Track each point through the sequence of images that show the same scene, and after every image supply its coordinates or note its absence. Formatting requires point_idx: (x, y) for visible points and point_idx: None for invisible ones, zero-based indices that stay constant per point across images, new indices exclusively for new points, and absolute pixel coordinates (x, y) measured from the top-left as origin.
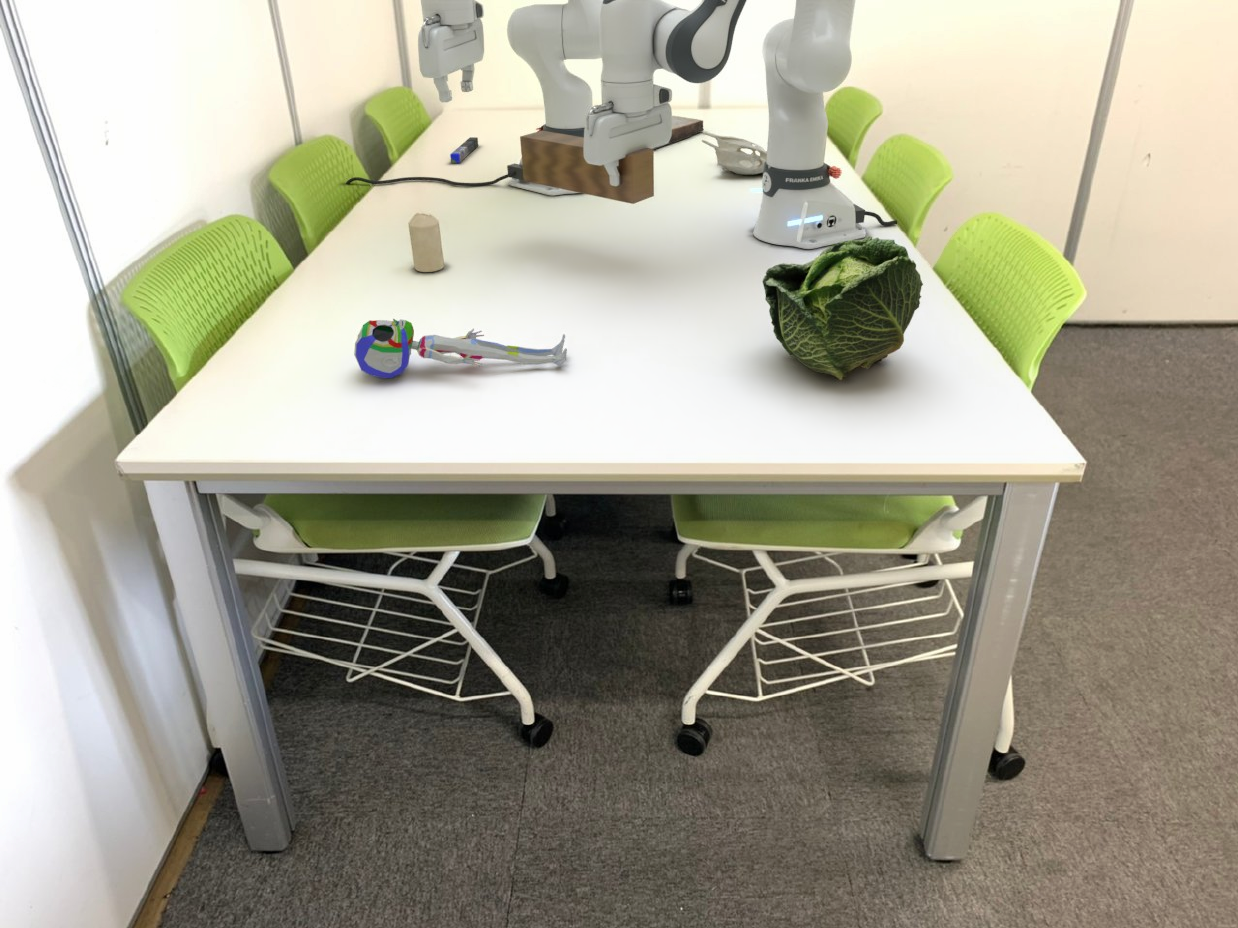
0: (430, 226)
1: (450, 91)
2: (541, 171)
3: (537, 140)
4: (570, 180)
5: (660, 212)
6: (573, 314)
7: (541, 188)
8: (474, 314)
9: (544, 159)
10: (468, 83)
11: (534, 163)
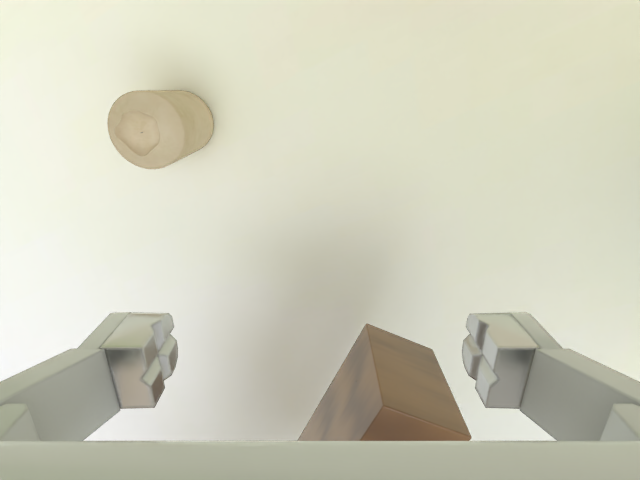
0: (129, 161)
1: (142, 404)
2: (339, 393)
3: None
4: None
5: None
6: None
7: None
8: (39, 281)
9: (335, 429)
10: (482, 396)
11: (351, 389)
